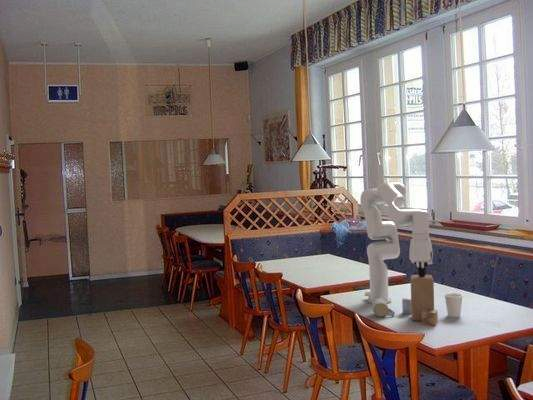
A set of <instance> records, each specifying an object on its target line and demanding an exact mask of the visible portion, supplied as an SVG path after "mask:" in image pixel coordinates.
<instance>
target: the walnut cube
mask: <svg viewBox="0 0 533 400" xmlns="http://www.w3.org/2000/svg"><path fill="white" fill-rule="evenodd" d="M438 316H439V315H438V309H434V310H431V309H424V310H423V311H422V321H421V325H422V326H427V325H430V326H431V327H436V326H437V325H438V323H439V322H438V320H439V319H438ZM436 324H437V325H436ZM430 326H429V327H430Z"/></svg>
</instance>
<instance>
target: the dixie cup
mask: <svg viewBox="0 0 533 400" xmlns="http://www.w3.org/2000/svg"><path fill="white" fill-rule="evenodd" d="M444 300H445V306H446V312H447V313H446V314H447V317H449V318H460V317H461V311H462V303H463V294H462V293H457V292H452V293H451V292H450V293H448V292H447V293H445V294H444Z"/></svg>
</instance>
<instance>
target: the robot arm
mask: <svg viewBox="0 0 533 400" xmlns="http://www.w3.org/2000/svg"><path fill="white" fill-rule="evenodd" d="M406 193H407V192H406V186H405V185H404V183H401V182H399V181H394V182H382V183H380V184H379V185H378V186H377V187H375V188H373V187H372V188H367V189H365V190H363V191H362V192H361V194H360V199H359V200H360V206H361V209H362V211H363V214H364V221H365V225H366V233H367V237H368V238H369V239H370V240H374V241H375V240H386V241H375V242H371V243H369V244H368V245H367V246H366V247H367V248H366V254H367V258H368V267H369V268H368V269H369V271H368V272H369V291H365V293H364V296H365V297H368V298H367V299H366V300H367V303H370V304H372V302H373V301H374V300H375V299H377V298H381V299H383V300H385V301H386V303H387V304H390V303H392V301H393V300H392V298H391V297H389V274H388V273H389V270H388V266H387V264H386V263H385V262H384V261H385V260H393V259H397V258H399V256H400V252H401V248H400V242H399V234H398V229H397V226H400V227H401V226H412V228H411V229H412V232H411V234H410V235H409V236H410V238H412V239H410V244H409V257H408V259H409V260H410V262H411V264H414V265H415V266H416V267H417V272H418V273H417V275H419V276H421V277H423V276H425V275H427V273H426V272H427V271H426V269H427V267H428V266H429V265H430V266H431V265H433V264H434V263H433V260H434V251H433V244H432V241H431V239H430V220H429V219H430V214H429V211H427V210H424V209H418V208H408V209H407V208H406V209H401V208H402V207H403V205H404V204H405V198H404V197H405V195H406ZM385 204H386V205H387V215H388V217H389V219H390V220H382V214H381V211H380V210H379V208H378V207H377V206H376V205H385Z"/></svg>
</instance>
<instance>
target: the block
mask: <svg viewBox="0 0 533 400" xmlns="http://www.w3.org/2000/svg"><path fill="white" fill-rule="evenodd" d="M434 280H435V279H434V278H433V276H432V275H431V274H425V276H423V277H421V276H419V274H411V275H410V298H411V314H410V315H411V319H412V321H414V322H422V311H423V310H424V309H431V310H435V285H434V284H435V282H434Z"/></svg>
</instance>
